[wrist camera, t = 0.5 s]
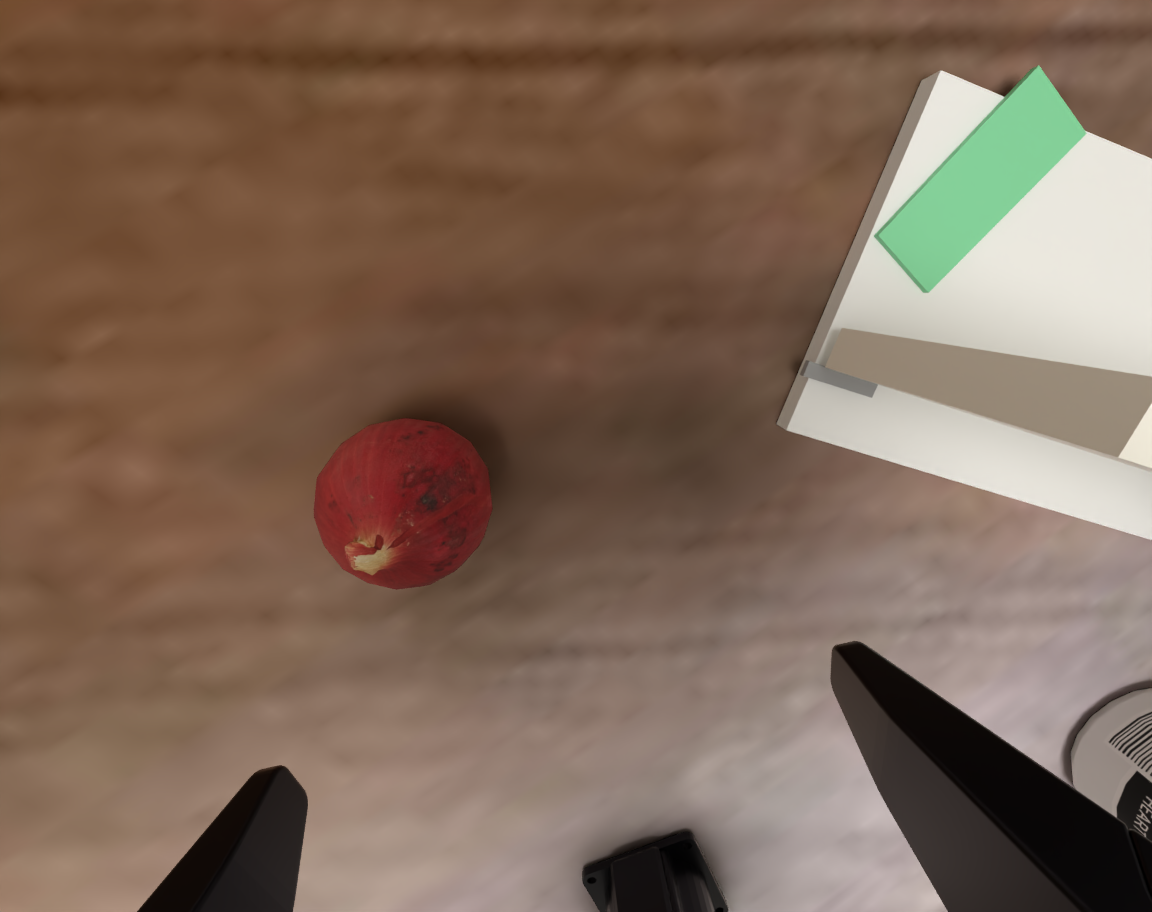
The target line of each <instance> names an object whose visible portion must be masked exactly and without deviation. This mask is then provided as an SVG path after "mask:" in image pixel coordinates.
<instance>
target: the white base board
mask: <svg viewBox="0 0 1152 912" xmlns="http://www.w3.org/2000/svg"><path fill="white" fill-rule="evenodd" d="M842 328H846V329H853V330H859V331H865V332H872V333H878V334H884V335H891V336H897V337H903V338H910V339H916V340H922V341H929V342H935V343H942V344H948V345H954V346H961V347H967V348H973V349H980V350H986V351H992V352H999V353H1005V354H1011V355H1018V356H1024V357H1030V358H1037V359H1043V360H1050V361H1056V362H1062V363H1069V364H1075V365H1081V366H1088V367H1094V368H1100V369H1107V370H1113V371H1119V372H1126V373H1132V374H1138V375H1145V376H1151V377H1152V159H1151V158H1148V157H1146V156H1144V155H1141V154H1139V153H1137V152H1134V151H1132V150H1129V149H1127V148H1125V147H1122V146H1120V145H1117V144H1115V143H1113V142H1110V141H1108V140H1106V139H1103V138H1101V137H1098V136H1096V135H1094V134H1091V133H1089V132H1087V131H1085V130H1084V129H1083V128H1082V126H1081V125H1080V123H1079V122H1078V120H1077V119H1076V118H1075V116H1074V115H1073V113H1072V112H1071V110H1070V109H1069V108H1068V106H1067V105H1066V103H1065V102H1064V101H1063V99H1062V98H1061V96H1060V95H1059V93H1058V92H1057V91H1056V89H1055V88H1054V86H1053V85H1052V83H1051V82H1050V81H1049V79H1048V78H1047V76H1046V75H1045V73H1044V72H1043V71H1042V69H1041V68H1040V66H1037V67H1034V68H1032V69H1031V70H1030V71H1029V72H1028V73H1027V74H1026V75H1025V76H1024V77H1023V78H1022V79H1021V80H1020V81H1019V82H1018V83H1017V85H1016V86H1015V87H1014V88H1013V89H1012V90H1011V91H1010V92H1009V93H1008V94H1007V95H1006V96H1005V97H1003V96H1001V95H999V94H996V93H994V92H991V91H989V90H987V89H984V88H982V87H980V86H977V85H975V84H972V83H970V82H968V81H965V80H963V79H961V78H958V77H956V76H953V75H951V74H949V73H946V72H944V71H942V70H940V71H938V72H937V73H935V74H933V75H931V76H929V77H927V78H925V79H923V80H922V81H921V83H920V85H919V87H918V90H917V92H916V95H915V97H914V99H913V102H912V104H911V106H910V109H909V111H908V113H907V116H906V118H905V121H904V123H903V125H902V128H901V130H900V132H899V135H898V137H897V140H896V142H895V144H894V147H893V149H892V151H891V154H890V156H889V158H888V161H887V163H886V166H885V168H884V170H883V173H882V175H881V177H880V180H879V182H878V184H877V187H876V189H875V192H874V194H873V196H872V199H871V201H870V203H869V206H868V208H867V211H866V213H865V215H864V218H863V220H862V222H861V225H860V227H859V229H858V232H857V234H856V237H855V239H854V241H853V244H852V246H851V248H850V251H849V253H848V255H847V258H846V260H845V263H844V265H843V267H842V270H841V272H840V274H839V277H838V279H837V281H836V284H835V286H834V289H833V291H832V293H831V296H830V298H829V300H828V303H827V305H826V308H825V310H824V312H823V315H822V317H821V319H820V322H819V324H818V326H817V329H816V331H815V334H814V336H813V338H812V341H811V343H810V345H809V348H808V350H807V352H806V355H805V357H804V360H803V362H802V364H801V367H800V369H799V371H798V374H797V376H796V379H795V381H794V383H793V386H792V388H791V390H790V393H789V395H788V397H787V400H786V402H785V405H784V407H783V409H782V412H781V414H780V416H779V419H778V421H777V423H776V424H777V425H779V426H780V427H782V428H784V429H785V430H787V431H791V432H794V433H797V434H801V435H804V436H807V437H811V438H814V439H817V440H820V441H824V442H827V443H830V444H834V445H837V446H840V447H844V448H847V449H850V450H854V451H857V452H860V453H864V454H867V455H870V456H874V457H877V458H880V459H884V460H887V461H890V462H894V463H897V464H900V465H904V466H907V467H910V468H914V469H917V470H920V471H924V472H927V473H930V474H934V475H937V476H940V477H944V478H947V479H950V480H954V481H957V482H960V483H964V484H967V485H970V486H974V487H977V488H980V489H984V490H987V491H990V492H994V493H997V494H1000V495H1004V496H1007V497H1010V498H1014V499H1017V500H1020V501H1023V502H1027V503H1030V504H1033V505H1037V506H1040V507H1043V508H1047V509H1050V510H1053V511H1057V512H1060V513H1063V514H1067V515H1070V516H1073V517H1077V518H1080V519H1083V520H1087V521H1090V522H1093V523H1097V524H1100V525H1103V526H1107V527H1110V528H1113V529H1117V530H1120V531H1123V532H1127V533H1130V534H1133V535H1137V536H1140V537H1143V538H1147V539H1150V540H1152V472H1149V471H1146V470H1142V469H1139V468H1136V467H1133V466H1130V465H1127V464H1124V463H1121V462H1118V461H1115V460H1111V459H1108V458H1105V457H1102V456H1099V455H1096V454H1093V453H1090V452H1087V451H1083V450H1080V449H1077V448H1074V447H1071V446H1068V445H1065V444H1062V443H1059V442H1055V441H1052V440H1049V439H1046V438H1043V437H1040V436H1037V435H1034V434H1031V433H1027V432H1024V431H1021V430H1018V429H1015V428H1012V427H1009V426H1006V425H1003V424H1000V423H996V422H993V421H990V420H987V419H984V418H981V417H978V416H975V415H972V414H968V413H965V412H962V411H959V410H956V409H953V408H950V407H947V406H944V405H940V404H937V403H934V402H931V401H928V400H925V399H922V398H919V397H916V396H913V395H909V394H906V393H903V392H900V391H897V390H894V389H891V388H888V387H885V386H881V385H878V384H875V383H872V382H869V381H866V380H863V379H860V378H857V377H853V376H850V375H847V374H844V373H841V372H838V371H835V370H832V369H829V368H825V366H826V363H827V361H828V359H829V356H830V354H831V352H832V349H833V347H834V345H835V343H836V340H837V338H838V336H839V333H840V331H841V329H842Z"/></svg>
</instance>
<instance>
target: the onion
mask: <svg viewBox="0 0 1152 912" xmlns="http://www.w3.org/2000/svg"><path fill="white" fill-rule="evenodd" d="M491 512H492V501H491V492H490V482H489V473H488V468H487V467H486V465H485V464H484V462H483V460H482V459H481V457H480V456H479V454H478V453H477V451H476V450H475V448H474V447H473V445H472V443H471V442H470V441H469V440H467V439H466V438H464V437H463V436H461V435H459V434H458V433H456V432H455V431H453V430H452V429H450V428H448V427H447V426H445V425H444V424H442V423H438V422H431V421H424V420H417V419H410V418H402V419H397V420H392V421H387V422H382V423H377V424H372V425H369V426H367V427H366V428H364V429H363V430H361V431H360V432H358V433H357V434H355V435H354V436H352V437H351V438H349V439H347V440H346V441H344V442H343V443H342V444H341V445H340V446H339V448H338V449H337V450H336V451H335V453H334V454H333V456H332V457H331V458H330V460H329V461H328V463H327V464H326V466H325V467H324V468H323V470H322V471H321V473H320V474H319V475H318V477H317V482H316V492H315V503H314V518H315V521H316V524H317V527H318V530H319V533H320V536H321V539H322V541H323V544H324V546H325V548H326V549H327V550H328V551H329V553H330V554H331V555H332V556H333V558H334V559H335V560H336V561H337V563H338V564H339V565H340V566H341V567H342V569H344V570H346V571H347V572H349V573H351V574H353V575H355V576H356V577H358V578H360V579H362V580H364V581H365V582H367V583H371V584H375V585H379V586H383V587H388V588H392V589H396V590H397V589H404V588H412V587H420V586H426V585H430V584H432V583H434V582H436V581H438V580H439V579H441V578H443V577H445V576H447V575H449V574H451V573H452V572H454V571H455V570H457V569H458V568H459V567H460V566H461V565H462V564H463V563H464V562H465V561H466V560H467V559H468V557H469V556H470V555H471V554H472V553H473V552H474V551H475V550H476V549H477V547H478V546H479V545H480V543H481V541H482V539H483V537H484V535H485V531H486V528H487V525H488V522H489V518H490V515H491Z"/></svg>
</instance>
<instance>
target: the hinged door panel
mask: <svg viewBox="0 0 1152 912" xmlns="http://www.w3.org/2000/svg"><path fill="white" fill-rule="evenodd" d="M825 368H829V369H832V370H835V371H838V372H841V373H844V374H847V375H850V376H853V377H857V378H860V379H863V380H866V381H869V382H872V383H875V384H878V385H881V386H885V387H888V388H891V389H894V390H897V391H900V392H903V393H906V394H909V395H913V396H916V397H919V398H922V399H925V400H928V401H931V402H934V403H937V404H940V405H944V406H947V407H950V408H953V409H956V410H959V411H962V412H965V413H968V414H972V415H975V416H978V417H981V418H984V419H987V420H990V421H993V422H996V423H1000V424H1003V425H1006V426H1009V427H1012V428H1015V429H1018V430H1021V431H1024V432H1027V433H1031V434H1034V435H1037V436H1040V437H1043V438H1046V439H1049V440H1052V441H1055V442H1059V443H1062V444H1065V445H1068V446H1071V447H1074V448H1077V449H1080V450H1083V451H1087V452H1090V453H1093V454H1096V455H1099V456H1102V457H1105V458H1108V459H1111V460H1115V461H1118V462H1121V463H1124V464H1127V465H1130V466H1133V467H1136V468H1139V469H1142V470H1146V471H1149V472H1152V377H1151V376H1145V375H1138V374H1132V373H1126V372H1119V371H1113V370H1107V369H1100V368H1094V367H1088V366H1081V365H1075V364H1069V363H1062V362H1056V361H1050V360H1043V359H1037V358H1030V357H1024V356H1018V355H1011V354H1005V353H999V352H992V351H986V350H980V349H973V348H967V347H961V346H954V345H948V344H942V343H935V342H929V341H922V340H916V339H910V338H903V337H897V336H891V335H884V334H878V333H872V332H865V331H859V330H853V329H846V328H842V329H841V331H840V333H839V336H838V338H837V340H836V343H835V345H834V347H833V349H832V352H831V354H830V356H829V359H828V361H827V363H826V366H825Z"/></svg>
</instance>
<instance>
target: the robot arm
mask: <svg viewBox="0 0 1152 912" xmlns="http://www.w3.org/2000/svg"><path fill="white" fill-rule="evenodd" d="M831 685H832V688H833V691H834V694H835V696H836V698H837V701H838V703H839V705H840V707H841V709H842V712H843V714H844V716H845V718H846V720H847V723H848V725H849V727H850V729H851V731H852V734H853V736H854V738H855V740H856V742H857V745H858V747H859V749H860V751H861V753H862V756H863V758H864V760H865V762H866V765H867V767H868V769H869V771H870V773H871V775H872V778H873V780H874V782H875V784H876V786H877V788H878V790H879V792H880V794H881V796H882V798H883V799H884V801H885V803H886V805H887V807H888V809H889V810H890V812H891V814H892V815H893V817H894V819H895V821H896V822H897V824H898V826H899V828H900V829H901V831H902V833H903V834H904V836H905V838H906V840H907V841H908V843H909V845H910V847H911V848H912V850H913V852H914V854H915V855H916V857H917V859H918V860H919V862H920V864H921V866H922V867H923V869H924V871H925V873H926V874H927V876H928V878H929V879H930V881H931V883H932V885H933V886H934V888H935V890H936V892H937V893H938V895H939V897H940V899H941V900H942V902H943V904H944V905H945V907H946V909H947V911H948V912H1152V841H1150V840H1149V839H1147V838H1146V837H1145V836H1143V835H1142V834H1140V833H1139V832H1137V831H1136V830H1134V829H1129V830H1128V828H1127V826H1126V824H1125V823H1124V822H1122V821H1121V820H1119V819H1118V818H1117V817H1115V816H1114V815H1112V814H1111V813H1109V812H1108V811H1106V810H1105V809H1103V808H1102V807H1101V806H1099V805H1098V804H1096V803H1095V802H1093V801H1092V800H1090V799H1089V798H1087V797H1086V796H1085V795H1083V794H1082V793H1080V792H1079V791H1077V790H1076V789H1074V788H1073V787H1071V786H1070V785H1069V784H1067V783H1066V782H1064V781H1063V780H1061V779H1060V778H1058V777H1057V776H1055V775H1054V774H1053V773H1051V772H1050V771H1048V770H1047V769H1045V768H1044V767H1042V766H1041V765H1039V764H1038V763H1037V762H1035V761H1034V760H1032V759H1031V758H1029V757H1028V756H1026V755H1025V754H1023V753H1022V752H1021V751H1019V750H1018V749H1016V748H1015V747H1013V746H1012V745H1010V744H1009V743H1007V742H1006V741H1005V740H1003V739H1002V738H1000V737H999V736H997V735H996V734H994V733H993V732H992V731H990V730H989V729H987V728H986V727H984V726H983V725H981V724H980V723H978V722H977V721H976V720H974V719H973V718H971V717H970V716H968V715H967V714H965V713H964V712H962V711H961V710H960V709H958V708H957V707H955V706H954V705H952V704H951V703H949V702H948V701H946V700H945V699H944V698H942V697H941V696H939V695H938V694H936V693H935V692H933V691H932V690H930V689H929V688H928V687H926V686H925V685H923V684H922V683H920V682H919V681H917V680H916V679H914V678H913V677H912V676H910V675H909V674H907V673H906V672H904V671H903V670H901V669H900V668H898V667H897V666H896V665H894V664H893V663H891V662H890V661H888V660H887V659H885V658H884V657H882V656H881V655H880V654H878V653H877V652H875V651H874V650H872V649H871V648H869V647H868V646H867V645H865V644H863V643H861V642H858V641H853V642H848V643H843V644H839V645H835V646H834V647H833V649H832V657H831ZM307 809H308V799H307V795H306V792H305V790H304V789H303V787H302V786H301V785H300V784H299V782H298V781H297V780H296V779H295V777H294V776H293V775H292V773H291V772H290V771H289V770H288V769H287V768H286V767H285V766H282V765H279V766H274V767H270V768H265V769H261V770H259V771H257V772H255V773H254V774H253V775H252V776H251V777H250V778H249V779H248V781H247V782H246V783H245V784H244V785H243V787H242V788H241V789H240V790H239V791H238V792H237V794H236V795H235V796H234V797H233V798H232V800H231V801H230V802H229V803H228V804H227V805H226V807H225V808H224V809H223V810H222V811H221V813H220V814H219V815H218V816H217V817H216V819H215V820H214V821H213V822H212V823H211V824H210V826H209V827H208V828H207V829H206V830H205V832H204V833H203V834H202V835H201V836H200V838H199V839H198V840H197V841H196V842H195V843H194V845H193V846H192V847H191V848H190V849H189V851H188V852H187V853H186V854H185V855H184V857H183V858H182V859H181V860H180V861H179V862H178V864H177V865H176V866H175V867H174V868H173V870H172V871H171V872H170V873H169V874H168V876H167V877H166V878H165V879H164V880H163V881H162V883H161V884H160V885H159V886H158V887H157V889H156V890H155V891H154V892H153V893H152V895H151V896H150V897H149V898H148V899H147V900H146V902H145V903H144V904H143V905H142V906H141V908H140V909H139V910H138V911H137V912H293V907H294V901H295V895H296V888H297V881H298V874H299V866H300V859H301V852H302V845H303V838H304V831H305V824H306V817H307ZM582 881H583V884H584V886H585V887H586V889H587V891H588V892H589V894H590V896H591V897H592V899H593V901H594V902H595V904H596V906H597V907H598V909H599V911H600V912H727V911H728V907H727V904H726V900H725V898H724V896H723V894H722V892H721V890H720V888H719V886H718V884H717V882H716V880H715V878H714V876H713V874H712V871H711V869H710V867H709V865H708V863H707V861H706V859H705V857H704V855H703V853H702V851H701V849H700V847H699V845H698V843H697V841H696V839H695V837H694V835H693V834H692V833H690V832H683V833H680V834H677V835H674V836H671V837H669V838H666V839H663V840H660V841H658V842H655V843H652V844H649V845H647V846H644V847H641V848H638V849H636V850H633V851H630V852H627V853H625V854H622V855H619V856H616V857H614V858H611V859H608V860H605V861H603V862H600V863H597V864H594V865H592V866H589V867H587V868H585V869H584V870H583V871H582Z"/></svg>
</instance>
